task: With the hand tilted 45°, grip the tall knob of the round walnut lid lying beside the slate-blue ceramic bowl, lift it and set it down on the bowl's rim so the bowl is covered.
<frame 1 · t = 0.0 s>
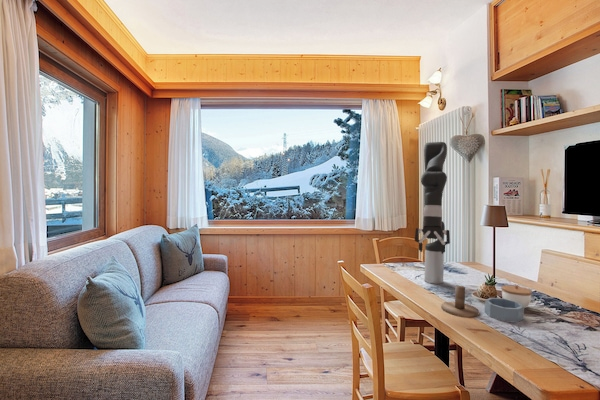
hand: (431, 252, 137), 22 cm above the table, tool pointing down, fingers open, 8 cm apart
lidded jar: (515, 307, 135), on the table
walnut lid: (459, 310, 130), on the table
ceramic bowl: (503, 315, 125), on the table
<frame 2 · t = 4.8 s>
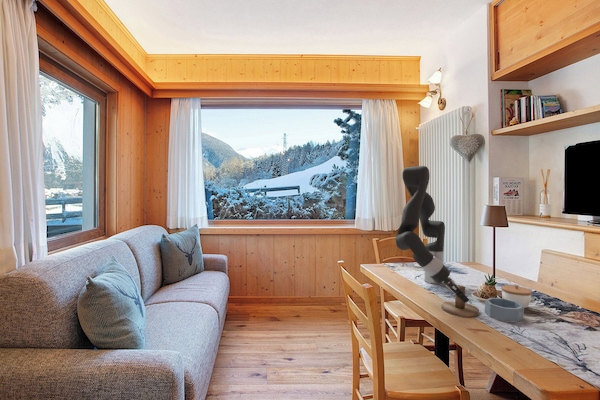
hand: (465, 299, 130), 5 cm above the table, tool tilted 45°, fingers closed on walnut lid, 3 cm apart
walnut lid: (459, 310, 130), on the table, touching gripper
everything else where it was.
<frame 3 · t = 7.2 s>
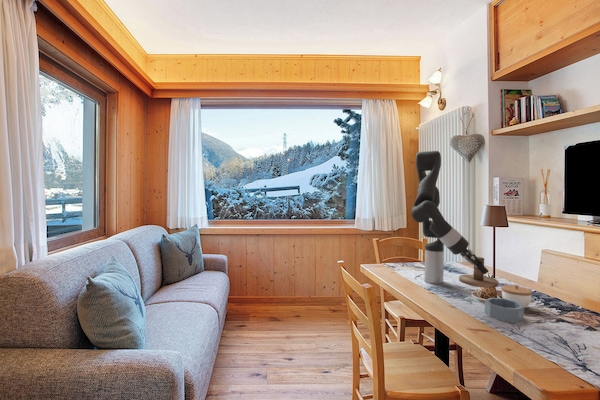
hand: (484, 271, 127), 17 cm above the table, tool tilted 45°, fingers closed on walnut lid, 3 cm apart
walnut lid: (478, 282, 128), point 13 cm above the table, touching gripper
everything else where it was.
when the fingers open (11 cm above the table, at t = 9.4 s): walnut lid drops 1 cm, resting on ceramic bowl.
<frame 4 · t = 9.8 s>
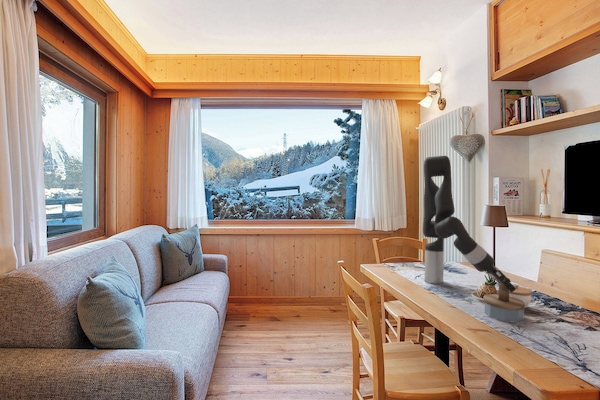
hand: (508, 287, 124), 12 cm above the table, tool tilted 45°, fingers open, 7 cm apart
walnut lid: (503, 303, 125), point 5 cm above the table, touching ceramic bowl
everything else where it was.
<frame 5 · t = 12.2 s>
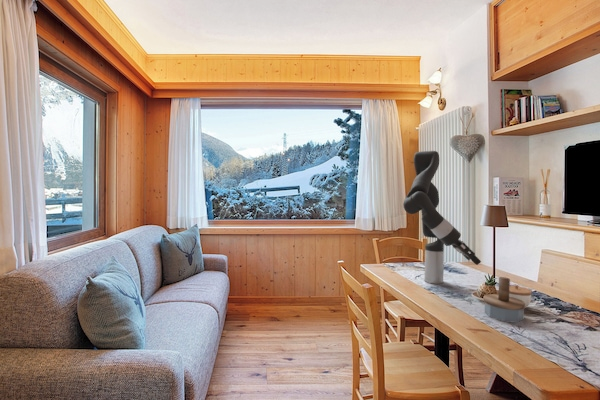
hand: (474, 260, 126), 22 cm above the table, tool tilted 45°, fingers open, 8 cm apart
nothing on the table moved.
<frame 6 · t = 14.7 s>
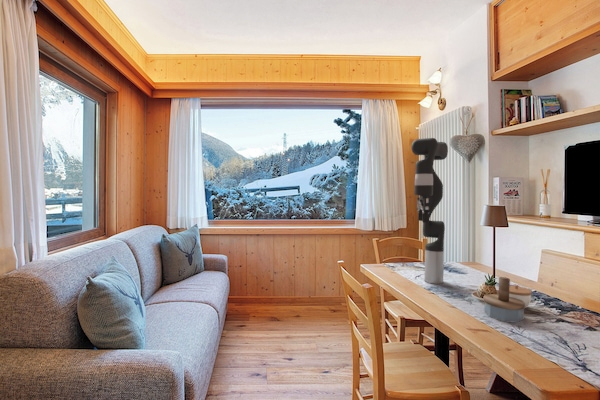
hand: (422, 221, 137), 36 cm above the table, tool pointing down, fingers open, 8 cm apart
nothing on the table moved.
at the end: walnut lid 0.2 cm from the ceramic bowl (horizontally); walnut lid point 5.0 cm above the table; walnut lid tilted 0° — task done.
